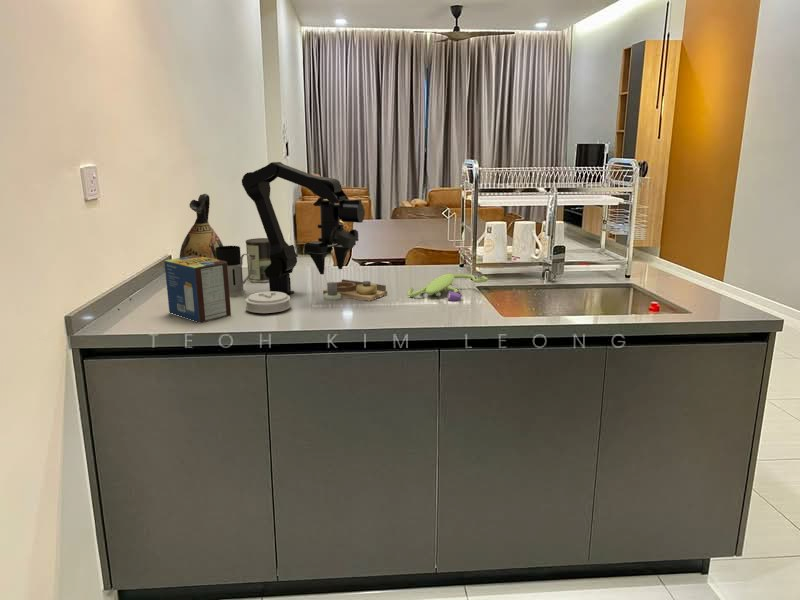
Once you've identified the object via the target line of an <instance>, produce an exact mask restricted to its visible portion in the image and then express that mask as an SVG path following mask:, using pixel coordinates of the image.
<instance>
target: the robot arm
mask: <svg viewBox="0 0 800 600" xmlns="http://www.w3.org/2000/svg"><path fill="white" fill-rule="evenodd" d="M277 178H280V179H283V180H286V181H288V182H290V183H292V184H295V185H299V186H300V187H304V188H307V189H308V190H309V191H310V192H312V194H314V195H316V196H317V197H318V199H317V200H316V201H315V202H313V205H312V206H314V207H319V208H320V211H319V212H320V214H319V215H320V224H317V229H320V237H318V238H317V241H315V240H313V241H309V242H308V241H307V242H306V243H304V245H303V246H304V247H303V248H304V249H303V251H304V253H306V254H307V255H309V256H310V258H311V260H312V261H313V263H314V265H315V266H316V268H317V270H318V273H319V275H325V263H326V262H325V259H326V257H327V255H328V254H329V253H328V252H327V251H328V249H329V248H333V252H334V256H335V261H336V264H337V268H338V270H343V267H344V263H345V261H346V257H347V255H348V252H349V251H351V249H354V247H355V246H357V244H356V242H359V230H356V229H351V230H345V229H344V225H343V224H342V223H340V222H341V221H342V222H345V223H358V224H359V223H363V222H364V220H365V216H366V215H365V214H366V213H365V212H366V210H365V208H364V205H363V203H362V201H363V200H362V199H359V198H358V199H349V197H348V196H347V194H346V192H344V190H343V189H342V184H341V182H340V181H339V180H338V179H336V178H333V177H332V178H331V177H327V176H318V175H313V174H310V173H308V172H306V171H303V170H300V169H297V168H295V167H292V166H289V165H286V164H284V163H282V162H281V161H273V162H269V163H268V164H267V165H265V166H263V167H261V168H258V169H257V170H254V171H253V172H252V171H251V172H246V173H245V174H244V175H243V177H242V179H241V185H242V187H243V189H244V191H245V193H246V195H247V196H248V197H249V199H251V200H252V201H253V202H254V204H255V207H256V210H257V213H258V216H259V218H260V221H261V224H262V226H263V229H264V233H265V235H266V238H268V241H269V244H270V255H269V256H270V261H271V264H270V265H269V266H268V267H267V268H266V269H265V270H264V272H265V275H266V277H269V282H268V283H269V285H268V286H269V292H270V291H273V292H283V293H286V294H287V295H288V296H289V295H291V294H294V293H295V290H292V289H291V288H292V286H291V276H290V274H292V273H293V271H294V268H295V267H296V266H297V264H298V257H299V256H298V254H297V253H296V248H295V246H294V244H291V245H290V244H288V243H287V242H286V239H285V238H284V235H283V232H282V229H281V226H280V224H279V221H278V218H277V215H276V212H275V209H274V207H273V204H272V201H271V183H272V182H273V181H275V180H276V179H277ZM340 220H341V221H340Z"/></svg>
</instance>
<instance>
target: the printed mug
mask: <svg viewBox="0 0 800 600" xmlns="http://www.w3.org/2000/svg"><path fill="white" fill-rule="evenodd" d="M245 248H246V254H248V255H250V257H251V259H252V271H251V274H250V277H249V278H248V279H247V280H248V281H249V282H251V283H252V282H253V283H269V277H266V275H265V272H264V270H265V269H266V268H267V267H268V266H269V265H270V264H271V261H270V256H269V255H270V244H269V241H268V238H267V237H263V238H262V237H259V238H258V237H257V238H249V239H246V240H245ZM246 263H247V275H248V274H249V271H250V259H249V257H248V256H247V255H246Z"/></svg>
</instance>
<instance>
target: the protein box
mask: <svg viewBox="0 0 800 600" xmlns="http://www.w3.org/2000/svg"><path fill="white" fill-rule="evenodd" d="M163 262H164V272H165V281H166V292H167V300H168V301H167V304H168V313H169V312H170V313H173V314H176V315H179V316H182V317H185V318H188V319H191V320H194V321H197V322H202V323H205V322H209V321H213V320H216V319H220V318H225V317H229V316H231V315H232V310H231V297H230V294H229V281H228V268H227V261H222V260H216V259H211V258H206V257H201V256H197V255H196V256H190V257H183V258H180V257H178V258H171V259H165V260H164V261H163ZM170 313H169V314H170ZM173 314H172V315H173ZM176 315H175V316H176ZM228 315H229V316H228ZM179 316H178V317H179ZM224 316H225V317H224ZM182 317H181V318H182ZM185 318H184V319H185ZM188 319H187V320H188ZM191 320H190V321H191ZM208 320H209V321H208ZM194 321H193V322H194ZM204 321H205V322H204ZM197 322H196V323H197Z"/></svg>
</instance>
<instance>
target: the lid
mask: <svg viewBox="0 0 800 600" xmlns="http://www.w3.org/2000/svg"><path fill="white" fill-rule="evenodd" d="M290 300H291V297H290V295H289V294H288V295H287V294H286V293H283V292H273V291H270V290H269V291H261V292H256V293H252V294H250V295H248V296H247V297H246V298H245V302H246V307H245V308H246V311H248V312H251V313H255V314H256V313H258V314H269V313H272V314H273V313H278V312H283V311H287V310H288V309H290V308H291V304H290Z"/></svg>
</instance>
